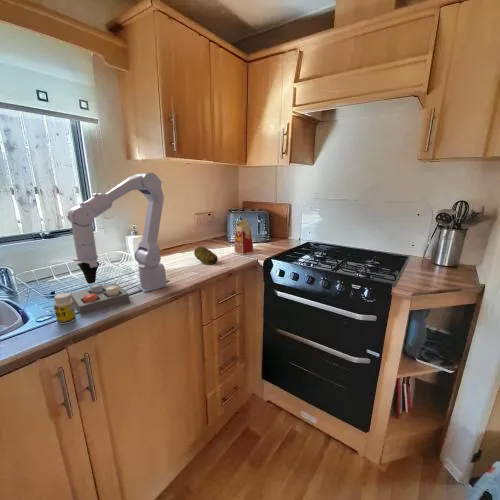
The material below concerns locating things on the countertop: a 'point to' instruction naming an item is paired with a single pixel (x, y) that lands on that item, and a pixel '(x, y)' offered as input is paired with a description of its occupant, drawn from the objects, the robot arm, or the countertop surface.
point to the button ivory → (112, 291)
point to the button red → (90, 298)
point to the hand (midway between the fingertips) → (91, 282)
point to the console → (101, 302)
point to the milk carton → (243, 238)
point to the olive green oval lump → (205, 255)
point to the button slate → (96, 288)
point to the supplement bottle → (64, 308)
